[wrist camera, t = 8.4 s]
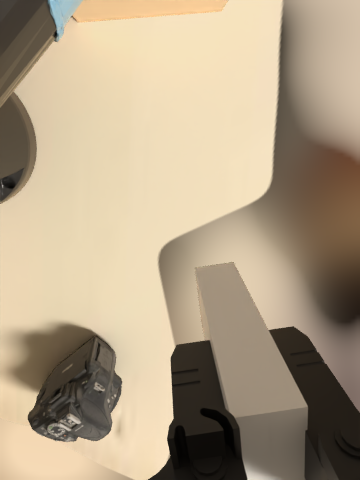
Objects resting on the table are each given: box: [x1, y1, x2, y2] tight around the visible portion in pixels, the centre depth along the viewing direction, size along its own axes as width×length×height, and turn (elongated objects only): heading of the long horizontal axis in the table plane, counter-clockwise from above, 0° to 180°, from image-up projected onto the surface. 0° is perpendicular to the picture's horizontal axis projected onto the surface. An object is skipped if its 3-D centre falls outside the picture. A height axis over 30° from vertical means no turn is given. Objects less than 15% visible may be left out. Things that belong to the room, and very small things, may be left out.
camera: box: [28, 336, 122, 442], centre depth 42 cm, size 13×10×10 cm
